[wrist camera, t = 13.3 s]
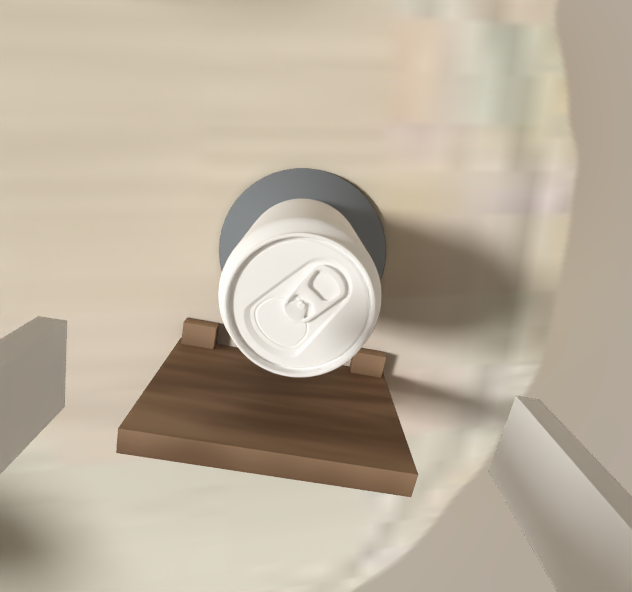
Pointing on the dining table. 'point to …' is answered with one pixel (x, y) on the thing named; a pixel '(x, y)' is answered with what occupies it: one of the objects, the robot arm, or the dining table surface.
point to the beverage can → (300, 290)
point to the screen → (271, 418)
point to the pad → (305, 187)
